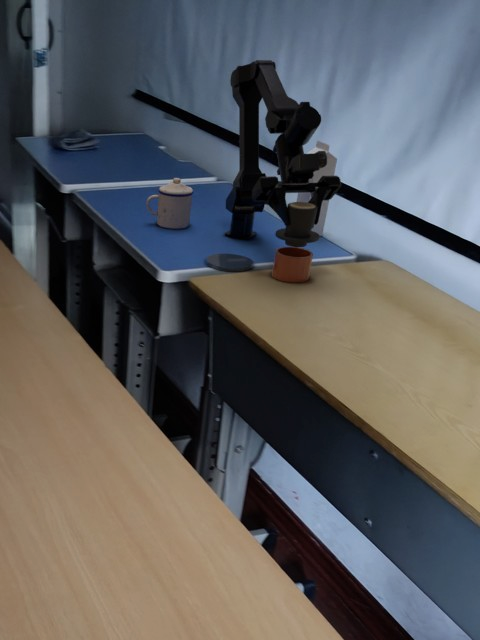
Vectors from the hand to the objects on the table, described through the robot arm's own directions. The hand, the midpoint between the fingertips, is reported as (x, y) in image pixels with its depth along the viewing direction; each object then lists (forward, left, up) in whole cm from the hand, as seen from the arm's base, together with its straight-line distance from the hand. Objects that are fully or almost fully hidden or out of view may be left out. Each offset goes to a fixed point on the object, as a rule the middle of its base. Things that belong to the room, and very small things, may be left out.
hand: (302, 224), depth 181 cm
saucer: (-2, -16, -12) cm, 20 cm away
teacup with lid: (-24, -42, -12) cm, 50 cm away
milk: (-38, -8, -12) cm, 41 cm away
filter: (-1, -1, -5) cm, 5 cm away
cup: (-1, -1, -12) cm, 12 cm away
